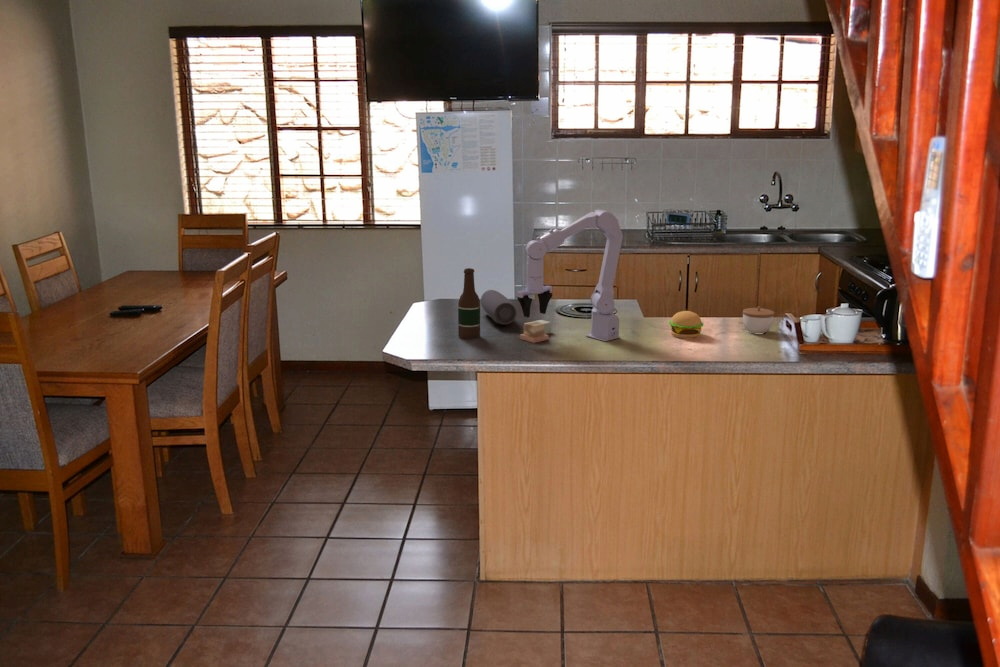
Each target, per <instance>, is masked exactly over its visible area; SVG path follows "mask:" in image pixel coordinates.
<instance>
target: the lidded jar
mask: <svg viewBox="0 0 1000 667" xmlns="http://www.w3.org/2000/svg"><path fill="white" fill-rule="evenodd" d="M774 316H775V312H774V311H773V310H771V309H767V308H762V307H761V306H757V307H749V308H748V307H747V308H744V309H743V310H742V323H743V326H744V329H746V331H747V332H748V331H749V332H751V333H765V332H766V333H767V332H768V331H769V330H770V329H771V327H772V326H773V322H774ZM749 332H748V333H749ZM751 333H750V334H751ZM766 333H765V334H766Z"/></svg>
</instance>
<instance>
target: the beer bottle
mask: <svg viewBox="0 0 1000 667" xmlns="http://www.w3.org/2000/svg"><path fill="white" fill-rule="evenodd" d="M463 273H464V277H463V289H462V293H461V295H460V296H459V299H458V305H457V306H458V307H457V314H458V315H457V316H458V317H457V318H458V319H457V320H458V321H457V328H458V330H457V332H458V333H457V334H458V338H460V339H462V338H463V339H462V340H475V339H479V337H480V336H481V298H480V297H479V295H478V293H477V292H476V288H475V287H476V286H475V269H474V268H471V267H470V268H464V270H463Z"/></svg>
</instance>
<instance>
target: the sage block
mask: <svg viewBox="0 0 1000 667" xmlns="http://www.w3.org/2000/svg"><path fill="white" fill-rule="evenodd" d="M535 321H536V322H539V323H543V324H544V334H546V335H549V334H551V333H552V322H551V321H547V320H544V319H538V320H535Z"/></svg>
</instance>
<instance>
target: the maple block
mask: <svg viewBox="0 0 1000 667" xmlns="http://www.w3.org/2000/svg"><path fill="white" fill-rule="evenodd" d="M536 321H537V320H533V321H530V322H524V323H523V334H524V335H527V336H530V337H538V336H542V335H544V324H543V323H539V322H536Z"/></svg>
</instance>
